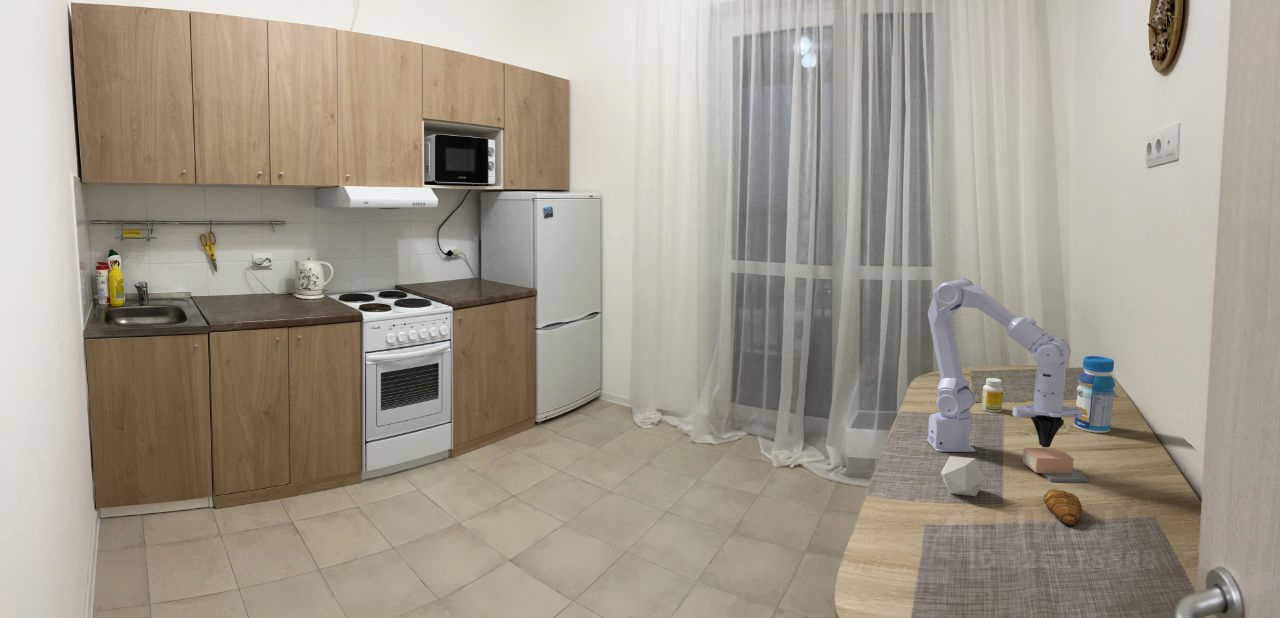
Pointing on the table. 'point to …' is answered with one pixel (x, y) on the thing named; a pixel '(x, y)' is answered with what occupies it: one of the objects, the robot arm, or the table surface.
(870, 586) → the table surface
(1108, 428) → the beverage bottle
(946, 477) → the die
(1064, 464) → the block
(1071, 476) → the board
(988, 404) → the supplement bottle
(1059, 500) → the croissant
